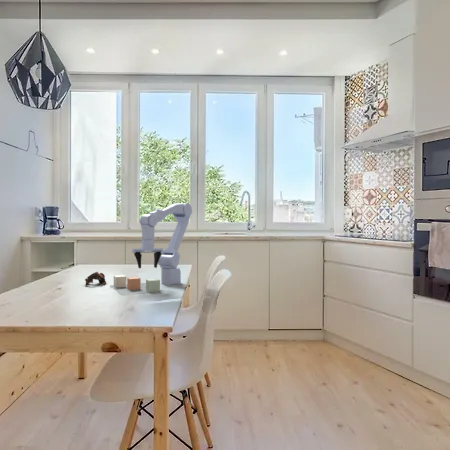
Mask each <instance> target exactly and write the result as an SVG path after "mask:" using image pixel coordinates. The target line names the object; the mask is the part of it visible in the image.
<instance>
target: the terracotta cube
mask: <svg viewBox="0 0 450 450" xmlns="http://www.w3.org/2000/svg"><path fill="white" fill-rule="evenodd" d="M141 281H142V280H141V277H138V276H132V277H126V284H127V288H128V289H129V290H135V289H141V283H142V282H141Z"/></svg>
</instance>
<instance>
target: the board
mask: <svg viewBox="0 0 450 450" xmlns="http://www.w3.org/2000/svg"><path fill="white" fill-rule="evenodd" d="M110 287H111V288H112V289H113V290H114V291H116V292H117V293H118V294H119V295H121V296H130V295H141V294H150V293H151V294H152V293H153V294H155V292H148V291H147V290H146V282H141V289H135V290H129V289H128V288H127V283H126V287H117V288H116V287H115V286H114V284H113V285H110ZM163 292H165V291H163V290H162V289H161V288H160V291H157V292H156V293H163Z"/></svg>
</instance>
